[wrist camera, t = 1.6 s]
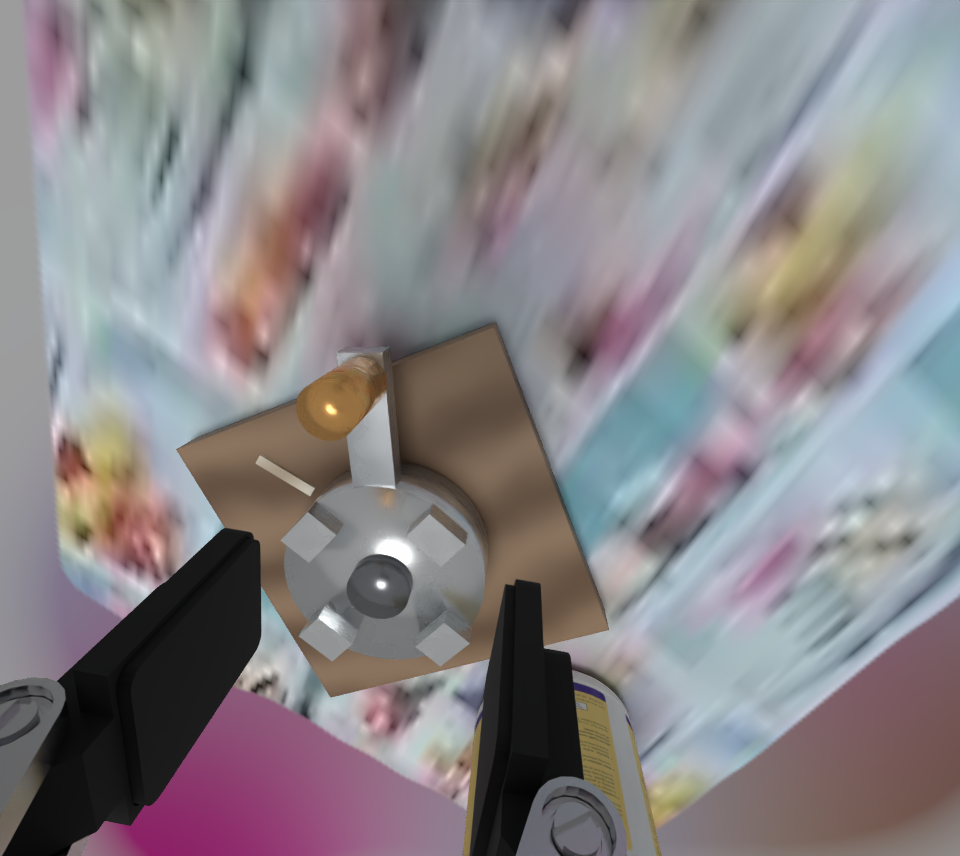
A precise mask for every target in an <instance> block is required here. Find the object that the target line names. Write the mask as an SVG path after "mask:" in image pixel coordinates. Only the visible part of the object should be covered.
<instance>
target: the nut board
mask: <svg viewBox="0 0 960 856" xmlns="http://www.w3.org/2000/svg"><path fill="white" fill-rule="evenodd" d="M392 373H393V384H394V395H395V407H396V418H397V429H398V440H399V452H400V462H403V463H408V464H413V465H417V466H420V467H423V468H426V469H429V470H431V471H433V472H435V473H438V474H440V475H441V476H443V477H445V478H446V479H448V480H449V481H451V482H452V483H453V484H455V485H456V486H457V487H458V488H460V489H461V490H462V491H463V492H464V493H465V494H466V495H467V496H468V498H469V499H470V500H471V502H472V503H473V504H474V505H475V507H476V509H477V510H478V512H479V514H480V516H481V518H482V520H483V523H484V525H485V528H486V532H487V536H488V545H489V550H488V563H487V571H486V580H485V588H484V596H483V600H482V605H481V608H480V610H479V613H478V615H477V617H476V619H475V620H474V622H473V624H472V625H471V626H470V628H472V632H471V639H470V644H469V645H467V646H466V647H465V648H463V649H462V650H461V651H460V652H458V653H457V654H456V655H454V656H453V657H452V658H451V659H449V660H448V661H447V662H446V663H444V664H443V665H442V666H439V665H438V664H436V663H435V662H434V661H433V660H431V659H430V658H429V657H428V656H422V657H418V658H412V659H382V658H376V657H371V656H366V655H363V654H360V653H357V652H354V651H352V650H349V649H346V650H345V651H344V652H343V653H342V654H340V655H339V656H338V657H337V658H336V659H335V660H334V661H331V660H329V659H328V658H327V657H325V656H324V655H323V654H321V653H320V652H319V651H317V650H316V649H315V648H314V647H312V646H311V645H310V644H308V643H307V642H306V641H304V640H303V639H302V638H300V637H299V635H300V633H301V631H302V630H303V628H304V626H305V624H306V623H307V622H308V620H307V619H306V618H305V617H304V615H303V614H302V613H301V611H300V610H299V609H298V607H297V605H296V603H295V602H294V600H293V598H292V596H291V593H290V591H289V589H288V585H287V581H286V578H285V570H284V555H285V550H286V545H285V544H284V543H283V542H282V541H281V539H282V538H283V537H284V536H285V535H286V533H287V532H288V531H289V530H290V529H291V528H292V527H293V525H294V524H295V523H296V522H297V521H298V520H299V519H300V518H301V517H302V516H303V515H304V514H305V513H306V511H307V510H308V509H309V508H310V506H311V505H312V504H313V503H314V502H315V500H316V499H317V498H318V497H319V496H320V494H321V493H322V492H323V491H324V489H325V488H326V487H327V486H328V485H329V484H330V483H331V482H332V481H333V480H334V479H336V478H337V477H339V476H340V475H342V474H343V473H345V472H347V471H349V470H351V466H350V459H349V451H348V443H347V436H346V437H344V438H342V439H339V440H335V441H325V440H321V439H318V438H316V437H314V436H312V435H311V434H310V433H308V432H307V431H306V430H305V429H304V428H303V426H302V425H301V423H300V421H299V419H298V416H297V412H296V403H297V399H296V400H293V401H290V402H288V403H285V404H283V405H280V406H277V407H275V408H272V409H270V410H267V411H265V412H262V413H259V414H257V415H254V416H252V417H249V418H246V419H244V420H241V421H239V422H236V423H233V424H231V425H228V426H226V427H223V428H221V429H218V430H215V431H213V432H210V433H208V434H205V435H202V436H200V437H197V438H195V439H193V440H191V441H190V442H188V443H186V444H185V445H183V446H181V447H180V448H178V449H176V450H177V452H178V453H179V455H180V456H181V458H182V460H183V461H184V463H185V464H186V466H187V468H188V469H189V471H190V472H191V474H192V476H193V477H194V479H195V481H196V482H197V484H198V485H199V487H200V489H201V490H202V492H203V493H204V495H205V497H206V498H207V500H208V501H209V503H210V505H211V506H212V508H213V509H214V511H215V513H216V514H217V516H218V517H219V519H220V521H221V522H222V524H223V525H224V527H225V528H231V529H236V530H242V531H248V532H251V533H252V534H253V536H254V540H258V541H259V542H260V553H261V586H262V588H263V590H264V591H265V593H266V595H267V596H268V598H269V599H270V601H271V603H272V604H273V606H274V607H275V609H276V611H277V612H278V614H279V615H280V617H281V619H282V620H283V622H284V623H285V625H286V627H287V628H288V630H289V631H290V633H291V635H292V636H293V638H294V639H295V641H296V643H297V644H298V646H299V648H300V649H301V651H302V652H303V654H304V656H305V657H306V659H307V660H308V662H309V664H310V665H311V667H312V668H313V670H314V672H315V673H316V675H317V676H318V678H319V680H320V681H321V683H322V684H323V686H324V688H325V689H326V691H327V692H328V694H329V696H330V697H335V696H339V695H343V694H347V693H351V692H355V691H359V690H363V689H368V688H372V687H376V686H380V685H384V684H388V683H392V682H396V681H400V680H405V679H409V678H413V677H417V676H421V675H425V674H429V673H433V672H438V671H442V670H446V669H450V668H454V667H458V666H462V665H466V664H471V663H475V662H479V661H483V660H487V659H490V656H491V651H492V646H493V641H494V636H495V631H496V626H497V621H498V616H499V611H500V606H501V601H502V596H503V591H504V587H505V584H509V585H514V583H515V580H516V579H519V580H525V581H531V582H536V583H540V584H541V599H542V621H543V643H544V646H545V645H549V644H553V643H557V642H561V641H565V640H569V639H574V638H578V637H582V636H586V635H590V634H594V633H598V632H602V631H606V630H609V628H608V623H607V619H606V614H605V610H604V607H603V604H602V602H601V599H600V596H599V594H598V591H597V588H596V586H595V583H594V580H593V578H592V575H591V573H590V570H589V567H588V565H587V562H586V559H585V557H584V554H583V551H582V549H581V546H580V543H579V541H578V538H577V535H576V533H575V530H574V528H573V525H572V522H571V520H570V517H569V514H568V512H567V509H566V506H565V504H564V501H563V498H562V496H561V493H560V491H559V488H558V485H557V483H556V480H555V477H554V475H553V472H552V469H551V467H550V464H549V461H548V459H547V456H546V453H545V451H544V448H543V446H542V443H541V440H540V438H539V435H538V432H537V430H536V427H535V424H534V422H533V419H532V416H531V414H530V411H529V408H528V406H527V403H526V401H525V398H524V395H523V393H522V390H521V387H520V385H519V382H518V379H517V377H516V374H515V371H514V369H513V366H512V363H511V361H510V358H509V356H508V353H507V350H506V348H505V345H504V342H503V340H502V337H501V334H500V332H499V329H498V326H497V324H496V322H495V323H492V324H490V325H487V326H484V327H482V328H479V329H477V330H474V331H472V332H469V333H466V334H464V335H461V336H459V337H456V338H453V339H451V340H448V341H446V342H443V343H440V344H438V345H435V346H433V347H430V348H428V349H425V350H422V351H420V352H417V353H415V354H412V355H409V356H407V357H404V358H402V359H399V360H396V361H394V362H392Z"/></svg>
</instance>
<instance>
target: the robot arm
mask: <svg viewBox="0 0 960 856" xmlns="http://www.w3.org/2000/svg"><path fill="white" fill-rule="evenodd" d="M260 639H261V553H260V542H259V541H258V540H254V536H253V534H252V533H251V532H248V531H242V530H236V529H231V528H224V529H222V530H221V531H220V532H219V533H218V534H216V535H215V536H214V537H213V538H212V539H211V540H210V541H209V542H208V543H207V544H206V545H205V546H204V547H203V548H202V549H201V550H199V551H198V552H197V553H196V554H195V555H194V556H193V557H192V558H191V559H190V560H189V561H188V562H187V563H186V564H185V565H184V566H182V567H181V568H180V569H179V570H178V571H177V572H176V573H175V574H174V575H173V576H172V577H171V578H170V579H169V580H168V581H166V582H165V583H163V584H161V585H160V586H159V587H157V588H156V589H155V590H154V591H153V592H152V593H151V594H150V595H149V596H148V597H147V598H146V599H144V600H143V601H142V602H141V603H140V604H139V605H138V606H137V607H136V608H135V609H134V610H133V611H132V612H131V613H129V614H128V615H127V616H126V617H125V618H124V619H123V620H122V621H121V622H120V623H119V624H118V625H117V626H116V627H114V629H112V630H111V631H110V632H109V633H108V634H107V635H106V636H105V637H104V638H103V639H102V640H101V641H100V642H99V643H97V644H96V645H95V646H94V647H93V648H92V649H91V650H90V651H89V652H88V653H87V654H86V655H85V656H83V658H81V659H80V660H79V661H78V662H77V663H76V664H75V665H74V666H73V667H72V668H71V669H69V670H68V671H67V672H66V673H65V674H64V675H63V676H62V677H61V678H60V679H59V680H58V681H57V682H56V681H54V680H51V679H48V678H27V679H22V680H15V681H12V682H9V683H6V684H3V685H0V856H81V855H82V853H83V850H84V848H85V846H86V843H87V841H88V837H89V835H91V834H93V833H95V832H96V831H97V830H98V829H99V828H100V827H101V825H102V824H103V822H104V821H109V822H114V823H119V824H125V825H130V826H131V824H132V823H133V821H134V820H135V818H136V817H137V815H138V814H139V813H140V811H141V810H142V808H143V807H144V805H147V806H150V805H152V804H153V803H154V802H155V801H156V800H157V799H158V798H159V796H160V795H161V793H162V792H163V790H164V789H165V787H166V786H167V784H168V783H169V781H170V780H171V778H172V777H173V775H174V774H175V772H176V771H177V769H178V768H179V766H180V765H181V763H182V761H183V760H184V759H185V757H186V756H187V754H188V752H189V751H190V750H191V748H192V746H193V745H194V743H195V742H196V741H197V739H198V738H199V736H200V735H201V733H202V731H203V730H204V728H205V727H206V725H207V724H208V722H209V721H210V719H211V718H212V716H213V715H214V713H215V712H216V710H217V708H218V707H219V706H220V704H221V703H222V701H223V700H224V698H225V697H226V695H227V694H228V692H229V691H230V689H231V688H232V686H233V685H234V683H235V682H236V680H237V679H238V677H239V676H240V674H241V673H242V671H243V670H244V668H245V667H246V665H247V664H248V662H249V661H250V659H251V658H252V656H253V655H254V653H255V651H256V650H257V648H258V645H259V642H260ZM626 853H627V836H626V831H625V828H624V824H623V821H622V818H621V816H620V814H619V813H618V811H617V809H616V807H615V806H614V804H613V802H612V801H611V800H610V799H609V798H608V797H607V796H606V795H605V794H604V793H603V792H602V791H601V790H600V789H598V788H597V787H595V786H594V785H592V784H591V783H589V782H588V781H585V780H584V774H583V765H582V756H581V747H580V738H579V728H578V719H577V710H576V701H575V692H574V683H573V674H572V665H571V658H570V655H569V653H567V652H561V651H556V650H550V649H545V648H544V643H543V621H542V599H541V584H540V583H536V582H531V581H525V580H519V579H516V580H515V583H514V585H509V584H505V587H504V591H503V596H502V601H501V606H500V611H499V616H498V621H497V626H496V631H495V636H494V641H493V646H492V651H491V656H490V661H489V666H488V671H487V677H486V683H485V690H484V701H483V712H482V722H481V733H480V744H479V755H478V766H477V777H476V788H475V799H474V810H473V821H472V832H471V842H470V853H469V856H627V855H626Z"/></svg>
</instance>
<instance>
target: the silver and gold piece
mask: <svg viewBox="0 0 960 856" xmlns="http://www.w3.org/2000/svg"><path fill="white" fill-rule="evenodd" d="M336 356H337V364H338V367H336V368H335V369H333V370H332V371H330V372H329V373H327V374H326V375H324V376H322V377H321V378H319V379H318V380H316V381H315V382H313V383H312V384H310V385H309V386H307V387H306V388H305V389H304V390H303V391H302V392H301V393H300V395H299V397H298V399H297V403H296V412H297V416H298V419H299V421H300V423H301V425H302V426H303V428H304V429H305V430H306V431H307V432H308V433H310V434H311V435H312V436H314V437H316V438H318V439H321V440H325V441H335V440H339V439H342V438H344V437H346V436H347V443H348V451H349V459H350V466H351V470H349V471H347V472H345V473H343V474H342V475H340V476H339V477H337V478H336V479H334V480H333V481H332V482H331V483H330V484H329V485H328V486H327V487H326V488H325V489H324V491H323V492H322V493H321V494H320V496H319V497H318V498H317V499H316V500H315V502H314V503H313V504H312V505H311V506H310V508H309V509H308V510H307V511H306V513H305V514H304V515H303V516H302V517H301V518H300V519H299V520H298V521H297V522H296V523H295V524H294V525H293V527H292V528H291V529H290V530H289V531H288V532H287V533H286V535H285V536H284V537H283V538H282V539H281V541H282V542H283V543H284V544H285V545H286V550H285V555H284V570H285V578H286V581H287V585H288V589H289V591H290V593H291V596H292V598H293V600H294V602H295V603H296V605H297V607H298V609H299V610H300V611H301V613H302V614H303V615H304V617H305V618H306V619H307V620H308V622H307V623H306V624H305V626H304V628H303V630H302V631H301V633H300V635H299V637H300V638H302V639H303V640H304V641H306V642H307V643H308V644H310V645H311V646H312V647H314V648H315V649H316V650H317V651H319V652H320V653H321V654H323V655H324V656H325V657H327V658H328V659H329V660H331V661H334V660H335V659H336V658H337V657H338V656H339V655H340V654H342V653H343V652H344V651H345V650H346V649H349V650H352V651H354V652H357V653H360V654H363V655H366V656H371V657H376V658H382V659H412V658H418V657H422V656H428V657H429V658H430V659H431V660H433V661H434V662H435V663H436V664H438V665H439V666H442V665H443V664H444V663H446V662H447V661H448V660H449V659H451V658H452V657H453V656H454V655H456V654H457V653H458V652H460V651H461V650H462V649H463V648H465V647H466V646H467V645H469V644H470V639H471V632H472V628H470V626H471V625H472V624H473V622H474V620H475V619H476V617H477V615H478V613H479V610H480V608H481V605H482V600H483V596H484V588H485V580H486V571H487V563H488V550H489V545H488V536H487V532H486V528H485V525H484V523H483V520H482V518H481V516H480V514H479V512H478V510H477V509H476V507H475V505H474V504H473V503H472V502H471V500H470V499H469V498H468V496H467V495H466V494H465V493H464V492H463V491H462V490H461V489H460V488H458V487H457V486H456V485H455V484H453V483H452V482H451V481H449V480H448V479H446V478H445V477H443V476H441V475H440V474H438V473H435V472H433V471H431V470H429V469H426V468H423V467H420V466H417V465H413V464H408V463H403V462H400V452H399V440H398V429H397V418H396V407H395V395H394V384H393V373H392V362H391V351H390V347H346V348H344V349H342V350H340V351H339V352H337V353H336Z"/></svg>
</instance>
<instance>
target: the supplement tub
mask: <svg viewBox="0 0 960 856" xmlns="http://www.w3.org/2000/svg"><path fill="white" fill-rule="evenodd" d="M572 674H573V683H574V692H575V701H576V710H577V719H578V728H579V738H580V747H581V756H582V765H583V774H584V780H585V781H588V782H589V783H591V784H592V785H594V786H595V787H597V788H598V789H600V790H601V791H602V792H603V793H604V794H605V795H606V796H607V797H608V798H609V799H610V800H611V801H612V802H613V804H614V806H615V807H616V809H617V811H618V813H619V814H620V816H621V818H622V821H623V824H624V828H625V831H626V836H627V853H626V855H627V856H662V855H661V851H660V846H659V842H658V838H657V833H656V829H655V824H654V820H653V816H652V811H651V807H650V803H649V798H648V794H647V790H646V785H645V781H644V777H643V772H642V768H641V764H640V759H639V755H638V751H637V746H636V742H635V738H634V733H633V727H632V723H631V720H630V718H629V715H628V713H627V710H626V709H625V707H624V705H623V703H622V702H621V701H620V699H619V698H618V697H617V696H616V694H615V693H614V692H613V691H611V690H610V689H609V688H608V687H607V686H605V685H604V684H603V683H601V682H600V681H598V680H596V679H595V678H593V677H591V676H588V675H586V674H583V673H580V672H577V671H574V670H572ZM483 701H484V700H483ZM482 712H483V702H482V704H481V706H480V708H479V711H478V714H477V718H476V721H475V734H474V742H473V754H472V765H471V775H470V785H469V795H468V806H467V817H466V827H465V837H464V847H463V856H469V853H470V842H471V832H472V821H473V810H474V799H475V788H476V777H477V766H478V755H479V744H480V733H481V722H482Z"/></svg>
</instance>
